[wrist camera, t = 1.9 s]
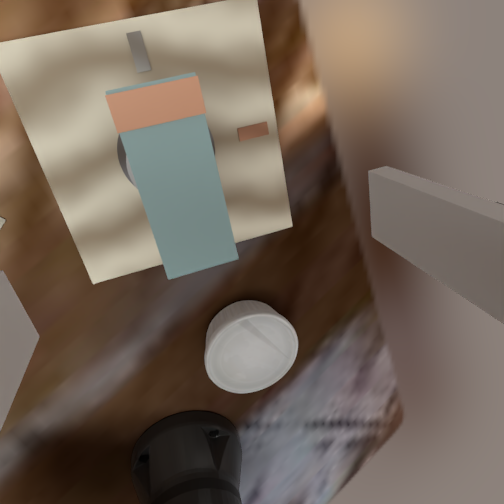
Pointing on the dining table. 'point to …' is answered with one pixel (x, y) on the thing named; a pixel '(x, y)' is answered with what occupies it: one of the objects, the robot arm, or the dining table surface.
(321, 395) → the dining table surface
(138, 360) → the dining table surface
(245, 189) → the post base
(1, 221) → the condiment
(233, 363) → the ramekin
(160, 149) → the teal block on base
